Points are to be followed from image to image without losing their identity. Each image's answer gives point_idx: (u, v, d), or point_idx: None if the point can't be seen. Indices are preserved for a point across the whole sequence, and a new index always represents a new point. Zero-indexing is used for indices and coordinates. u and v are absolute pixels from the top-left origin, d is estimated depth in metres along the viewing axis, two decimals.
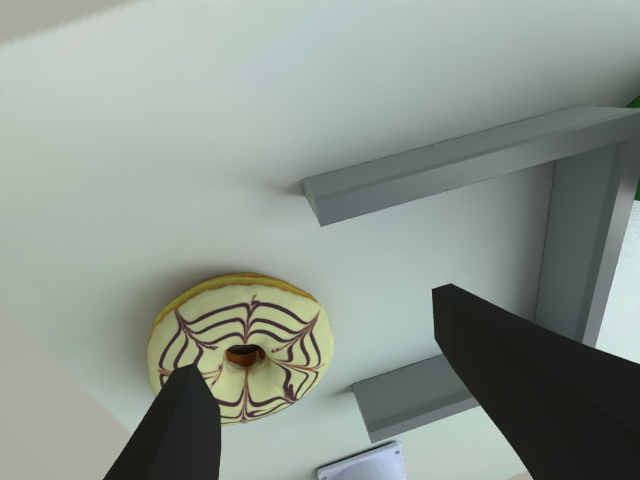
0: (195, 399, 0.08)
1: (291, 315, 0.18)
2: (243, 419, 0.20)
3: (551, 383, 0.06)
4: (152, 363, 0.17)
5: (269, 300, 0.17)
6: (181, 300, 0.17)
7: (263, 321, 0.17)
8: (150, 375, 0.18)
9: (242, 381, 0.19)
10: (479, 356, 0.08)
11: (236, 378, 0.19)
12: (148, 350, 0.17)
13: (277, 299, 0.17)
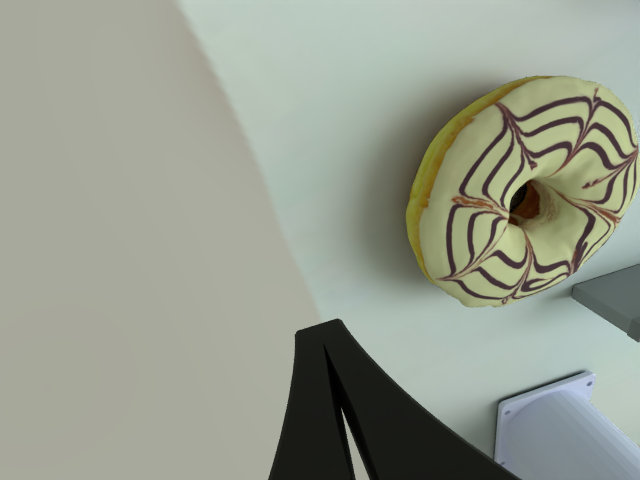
0: (327, 357, 0.09)
1: (627, 127, 0.13)
2: (512, 294, 0.15)
3: None
4: (448, 186, 0.12)
5: (609, 100, 0.12)
6: (492, 97, 0.12)
7: (601, 130, 0.12)
8: (434, 210, 0.13)
9: (522, 238, 0.15)
10: (345, 401, 0.08)
11: (515, 233, 0.15)
12: (446, 166, 0.12)
13: (616, 101, 0.13)
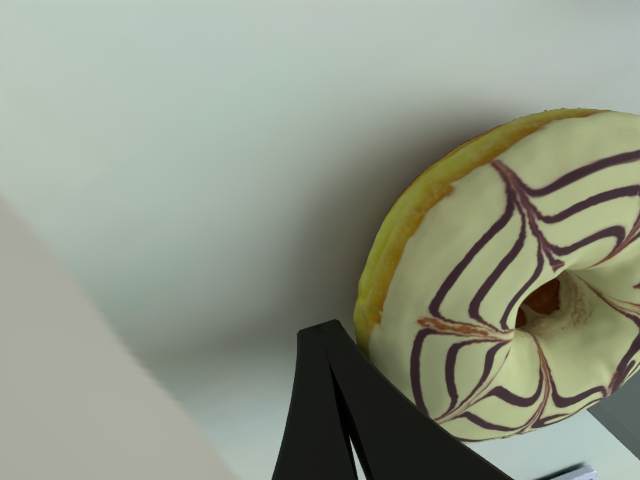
0: None
1: None
2: (518, 432, 0.10)
3: None
4: (411, 302, 0.07)
5: None
6: (487, 148, 0.07)
7: None
8: (389, 334, 0.08)
9: (535, 354, 0.09)
10: (342, 402, 0.08)
11: (523, 348, 0.09)
12: (406, 269, 0.07)
13: None
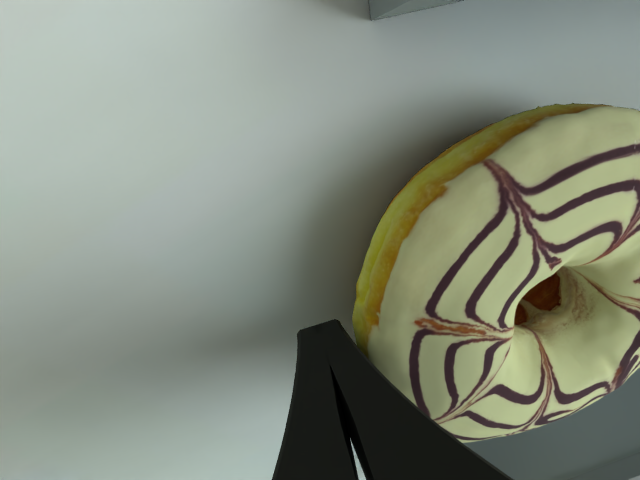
0: None
1: None
2: (521, 429, 0.10)
3: (364, 449, 0.06)
4: (407, 303, 0.07)
5: None
6: (479, 147, 0.07)
7: None
8: (387, 335, 0.08)
9: (536, 351, 0.09)
10: (342, 402, 0.08)
11: (524, 345, 0.09)
12: (402, 271, 0.07)
13: None
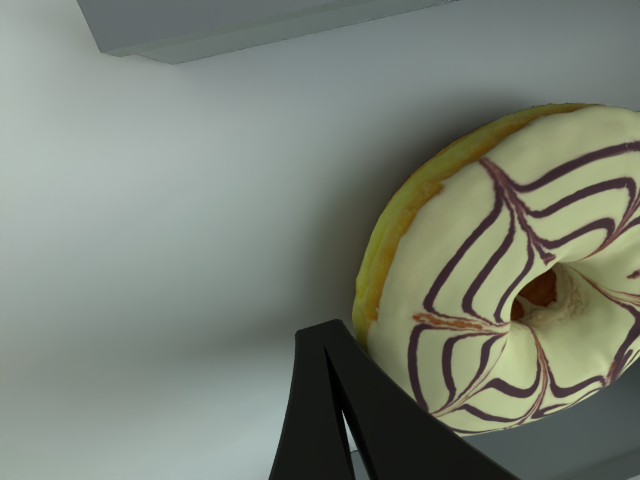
0: (327, 357, 0.09)
1: None
2: (518, 423, 0.10)
3: (368, 448, 0.06)
4: (406, 299, 0.07)
5: None
6: (475, 146, 0.07)
7: None
8: (386, 330, 0.08)
9: (532, 346, 0.09)
10: (344, 401, 0.08)
11: (520, 340, 0.09)
12: (400, 267, 0.07)
13: None
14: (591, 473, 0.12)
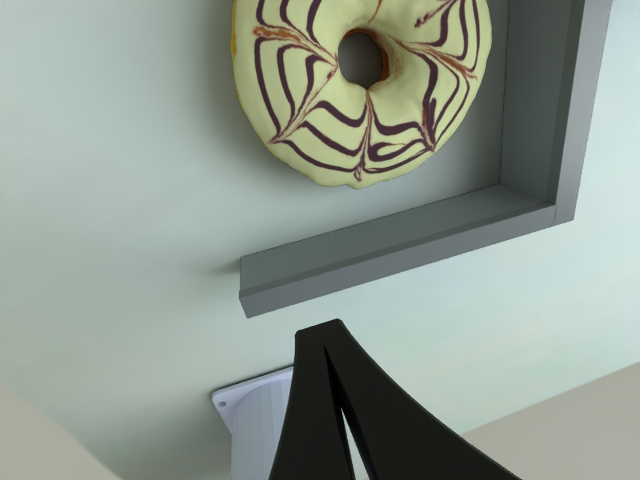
0: (327, 357, 0.09)
1: None
2: (361, 163, 0.14)
3: None
4: (245, 15, 0.11)
5: None
6: None
7: None
8: (239, 49, 0.12)
9: (363, 96, 0.13)
10: (345, 401, 0.08)
11: (354, 91, 0.13)
12: None
13: None
14: (436, 234, 0.16)
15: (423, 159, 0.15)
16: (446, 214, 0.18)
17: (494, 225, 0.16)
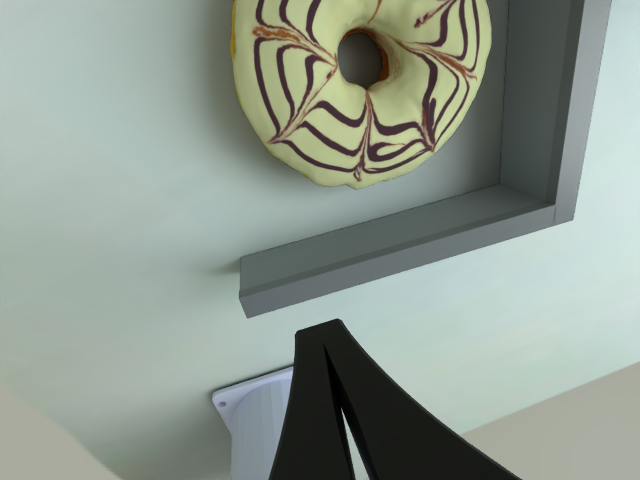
0: (327, 357, 0.09)
1: None
2: (360, 163, 0.14)
3: None
4: (245, 15, 0.11)
5: None
6: None
7: None
8: (239, 49, 0.12)
9: (362, 96, 0.13)
10: (345, 401, 0.08)
11: (354, 91, 0.13)
12: None
13: None
14: (435, 234, 0.16)
15: (423, 159, 0.15)
16: (446, 214, 0.18)
17: (494, 225, 0.16)
